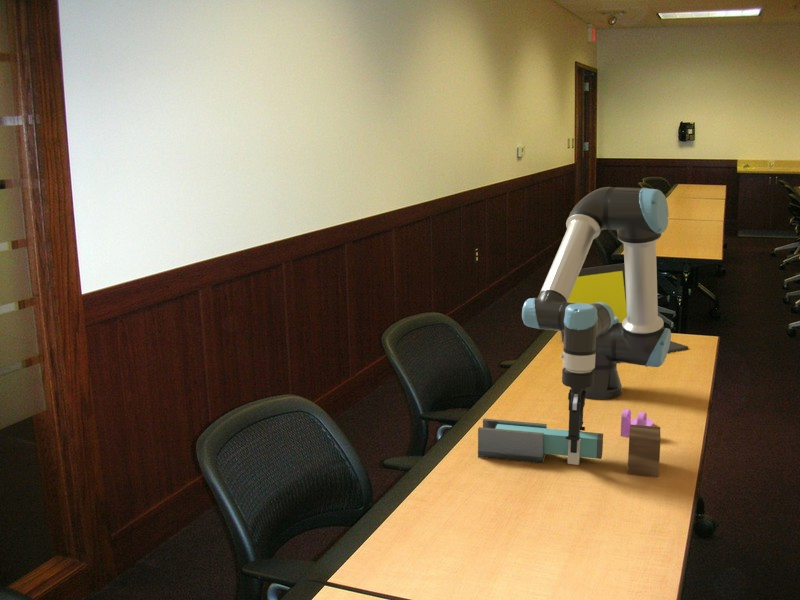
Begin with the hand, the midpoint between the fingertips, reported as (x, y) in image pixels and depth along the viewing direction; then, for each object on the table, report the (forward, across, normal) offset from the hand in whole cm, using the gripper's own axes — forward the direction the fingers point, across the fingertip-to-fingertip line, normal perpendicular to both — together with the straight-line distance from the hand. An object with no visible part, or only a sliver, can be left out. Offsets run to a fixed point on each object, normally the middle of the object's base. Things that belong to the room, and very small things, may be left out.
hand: (574, 459), depth 204 cm
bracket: (+1, -25, +14) cm, 29 cm away
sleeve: (+1, 0, -15) cm, 15 cm away
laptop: (+1, -109, +5) cm, 110 cm away
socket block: (0, 0, +16) cm, 16 cm away
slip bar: (-2, 0, -6) cm, 7 cm away
